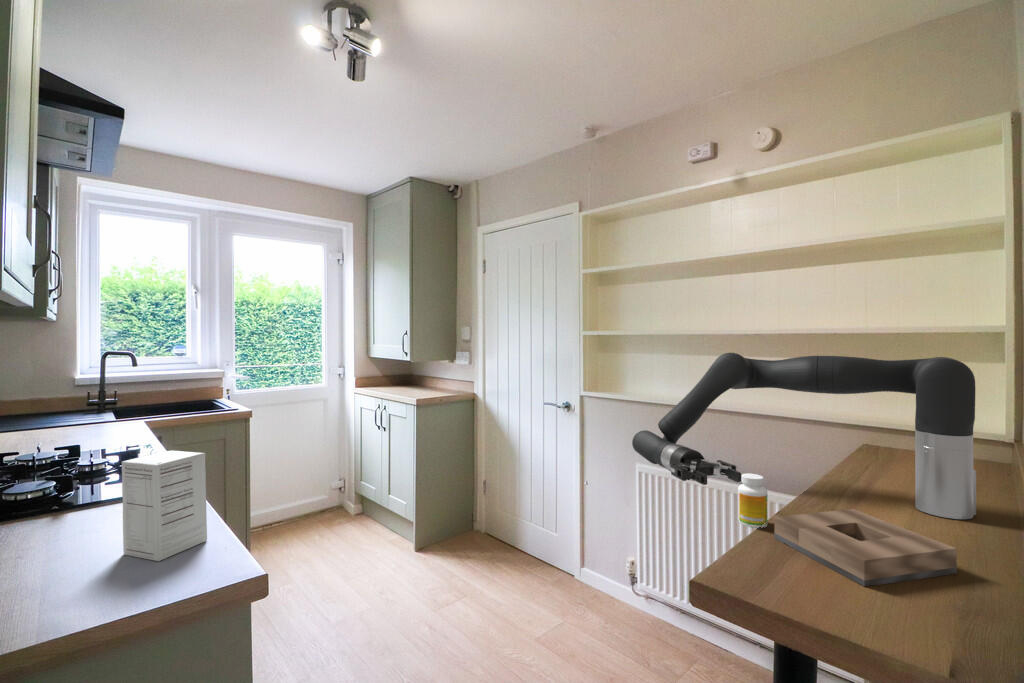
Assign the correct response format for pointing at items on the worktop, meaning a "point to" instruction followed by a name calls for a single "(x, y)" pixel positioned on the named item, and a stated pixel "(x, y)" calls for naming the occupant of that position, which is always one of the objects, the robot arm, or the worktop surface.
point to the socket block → (865, 547)
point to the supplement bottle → (752, 501)
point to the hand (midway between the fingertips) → (723, 479)
